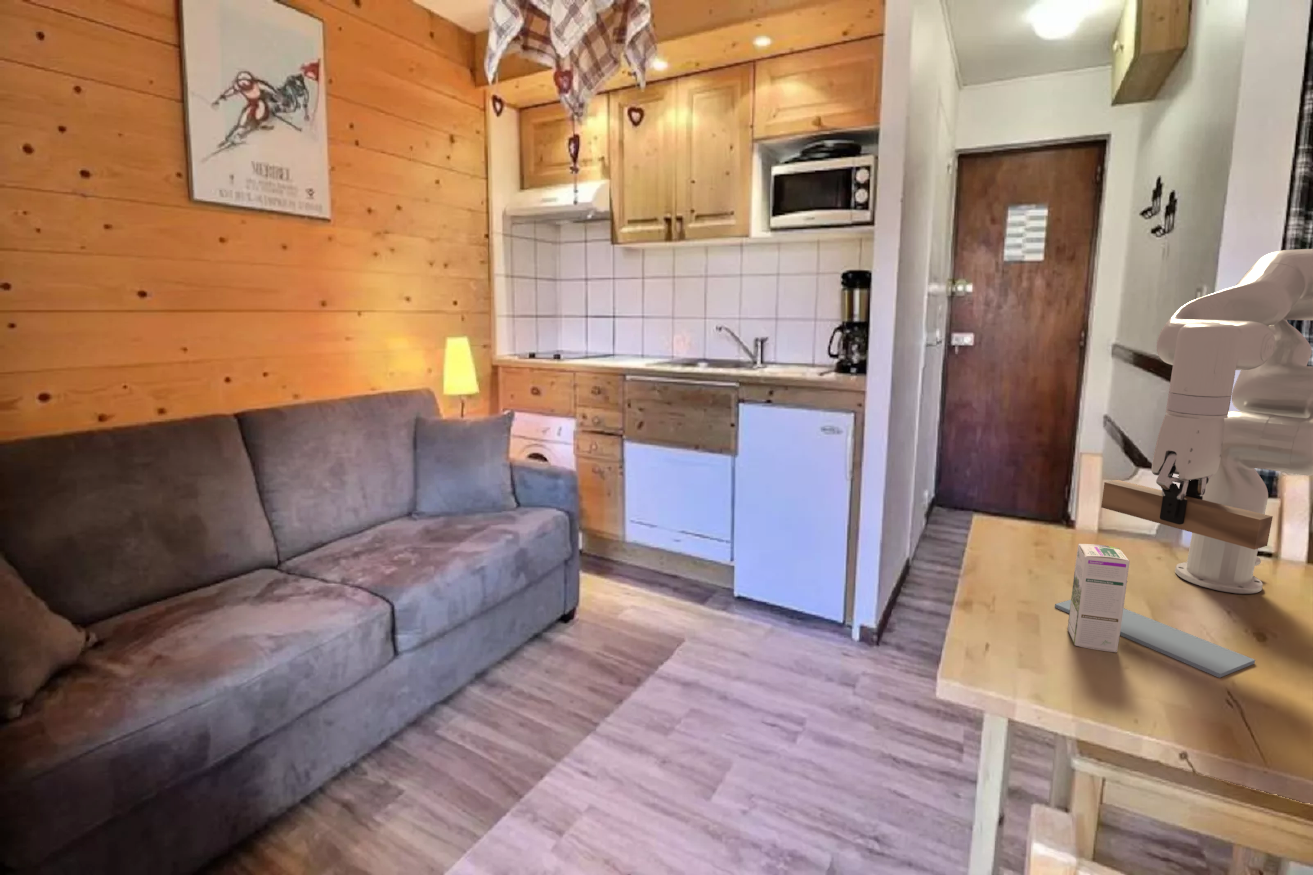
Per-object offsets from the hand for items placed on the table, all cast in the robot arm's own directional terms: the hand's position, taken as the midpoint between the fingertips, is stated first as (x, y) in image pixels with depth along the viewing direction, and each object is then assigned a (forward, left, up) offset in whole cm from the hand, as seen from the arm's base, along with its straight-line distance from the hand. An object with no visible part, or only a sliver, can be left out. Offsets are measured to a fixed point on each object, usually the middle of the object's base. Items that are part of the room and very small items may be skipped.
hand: (1179, 518), depth 108 cm
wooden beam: (0, 0, -1) cm, 1 cm away
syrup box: (+18, 0, -17) cm, 25 cm away
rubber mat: (+8, +2, -17) cm, 19 cm away
